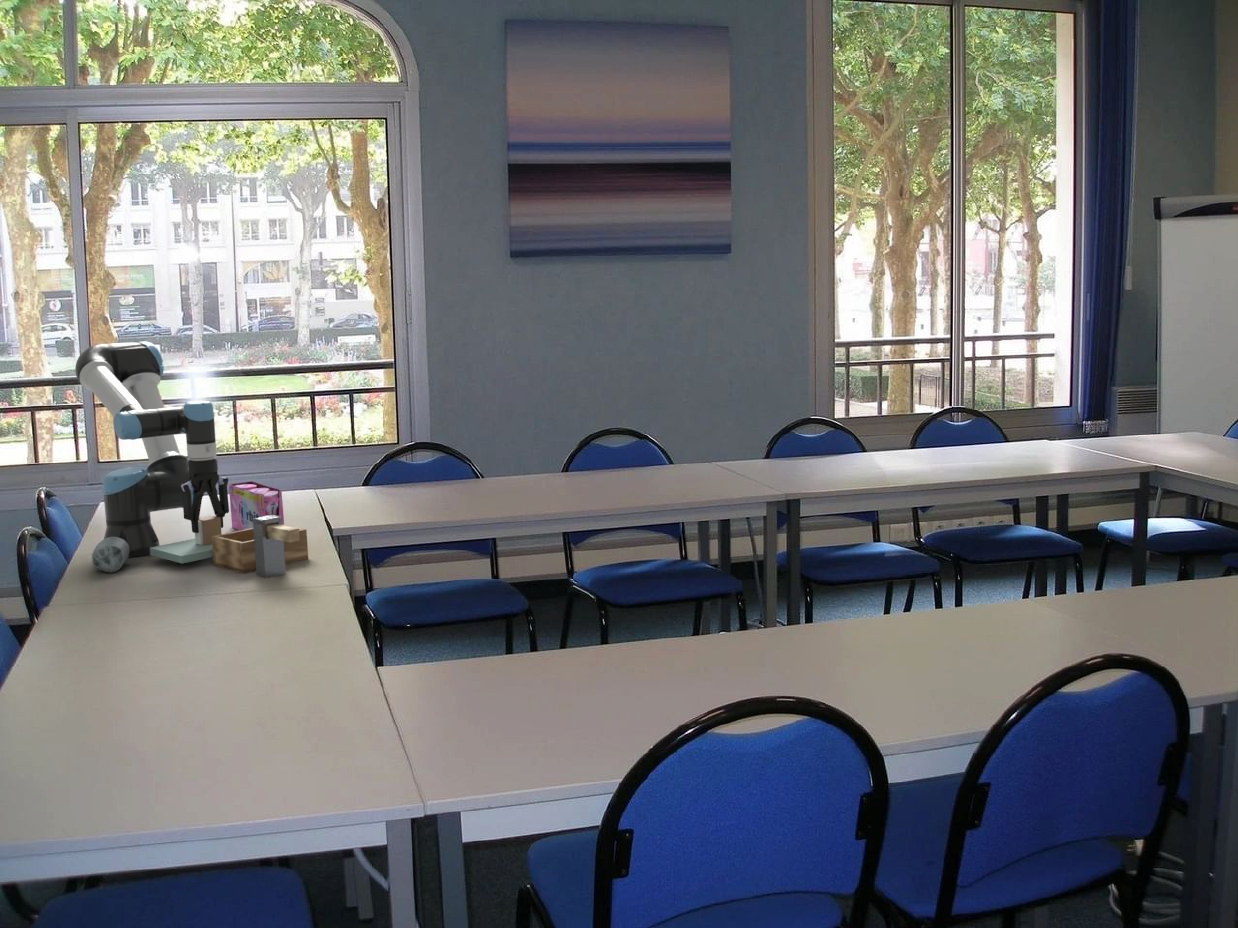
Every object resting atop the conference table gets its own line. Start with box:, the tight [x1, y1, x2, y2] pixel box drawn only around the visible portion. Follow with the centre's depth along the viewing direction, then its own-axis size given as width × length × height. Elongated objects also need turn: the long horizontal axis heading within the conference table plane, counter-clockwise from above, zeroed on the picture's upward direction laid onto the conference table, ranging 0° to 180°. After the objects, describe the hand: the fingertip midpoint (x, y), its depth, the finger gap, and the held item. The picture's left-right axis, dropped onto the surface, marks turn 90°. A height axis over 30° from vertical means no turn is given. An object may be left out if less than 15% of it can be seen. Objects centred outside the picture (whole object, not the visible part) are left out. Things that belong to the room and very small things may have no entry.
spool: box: [91, 537, 130, 573], centre depth 328 cm, size 14×10×10 cm
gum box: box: [228, 480, 285, 531], centre depth 369 cm, size 24×8×14 cm, turn 39°
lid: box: [149, 514, 224, 564], centre depth 337 cm, size 16×22×9 cm
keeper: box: [253, 515, 286, 579], centre depth 317 cm, size 4×6×15 cm, turn 140°
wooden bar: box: [265, 523, 300, 542], centre depth 314 cm, size 15×3×3 cm, turn 50°
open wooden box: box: [212, 524, 309, 574], centre depth 332 cm, size 14×20×8 cm
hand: (208, 541), depth 339 cm, fingers closed on lid, 5 cm apart
